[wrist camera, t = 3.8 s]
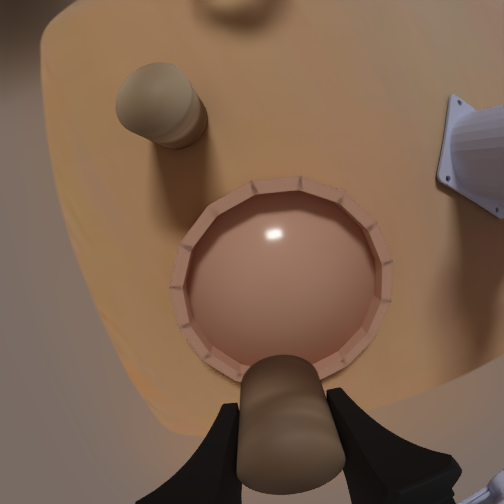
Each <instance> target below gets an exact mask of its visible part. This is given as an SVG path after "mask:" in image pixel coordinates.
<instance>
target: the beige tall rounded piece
mask: <svg viewBox="0 0 504 504" xmlns="http://www.w3.org/2000/svg"><path fill="white" fill-rule="evenodd" d="M116 113H117V117H118V119H119V121H120V122H121V124H122V125H123V126H124V127H125V128H126V129H128V130H129V131H131V132H133V133H135V134H138V135H140V136H142V137H144V138H146V139H149V140H151V141H153V142H155V143H157V144H159V145H161V146H163V147H166V148H169V149H182V148H186V147H188V146H190V145H192V144H194V143H195V142H196V141H197V140H198V139H199V138H200V137H201V136H202V134H203V133H204V131H205V129H206V126H207V121H208V116H207V111H206V108H205V106H204V104H203V103H202V101H201V100H200V98H199V96H198V95H197V93H196V91H195V90H194V88H193V87H192V85H191V83H190V82H189V80H188V78H187V77H186V75H185V74H184V73H183V71H181V70H180V69H179V68H178V67H176V66H174V65H172V64H168V63H152V64H148V65H146V66H143V67H141V68H139V69H138V70H136V71H135V72H133V73H132V74H131V75H130V76H129V77H128V78H127V79H126V80H125V81H124V83H123V84H122V86H121V88H120V90H119V92H118V95H117V99H116Z"/></svg>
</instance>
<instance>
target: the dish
mask: <svg viewBox="0 0 504 504" xmlns="http://www.w3.org/2000/svg"><path fill="white" fill-rule="evenodd" d="M392 262H393V261H392V258H391V256H390V253H389V251H388V248H387V245H386V243H385V240H384V238H383V235H382V233H381V230H380V228H379V225H378V223H377V221H375V220H374V219H373V218H372V217H371V216H370V215H369V214H368V213H367V212H366V211H365V210H364V209H363V208H362V207H361V206H360V205H359V204H358V203H357V202H356V201H355V200H354V199H353V198H352V197H351V196H349V195H348V194H347V193H346V192H345V191H342V190H339V189H336V188H334V187H331V186H328V185H325V184H322V183H319V182H316V181H313V180H310V179H307V178H304V177H302V176H299V177H288V178H277V179H267V180H257V181H251V182H249V183H247V184H245V185H244V186H242V187H240V188H238V189H236V190H234V191H233V192H231V193H229V194H227V195H226V196H224V197H222V198H220V199H219V200H217V201H215V202H213V203H212V204H209V205H208V206H207V208H206V209H205V210H204V212H203V213H202V214H201V215H200V217H199V218H198V219H197V221H196V222H195V223H194V225H193V226H192V227H191V229H190V230H189V232H188V233H187V234H186V236H185V237H184V238H183V240H182V241H181V242H180V244H179V248H178V253H177V257H176V262H175V266H174V271H173V276H172V280H171V285H170V289H171V294H172V299H173V304H174V308H175V313H176V317H177V322H178V326H179V329H180V330H181V332H182V333H183V334H184V336H185V337H186V339H187V340H188V341H189V343H190V344H191V346H192V347H193V348H194V350H195V351H196V352H197V354H198V355H199V356H200V358H201V359H202V360H203V361H204V362H206V363H207V364H209V365H210V366H212V367H214V368H215V369H217V370H218V371H220V372H222V373H223V374H225V375H226V376H228V377H230V378H231V379H233V380H235V381H238V382H241V381H242V378H243V376H244V374H245V372H246V371H247V370H248V369H249V368H250V367H251V366H252V365H253V364H255V363H256V362H258V361H260V360H262V359H264V358H267V357H270V356H274V355H293V356H298V357H300V358H303V359H305V360H307V361H308V362H310V363H311V364H312V365H313V366H314V367H315V369H316V370H317V372H318V375H319V378H320V380H321V379H323V378H325V377H327V376H329V375H331V374H333V373H335V372H337V371H339V370H341V369H343V368H344V367H346V366H348V365H349V364H350V363H351V362H352V361H353V360H354V359H355V358H356V357H357V356H358V355H359V354H360V353H361V352H362V351H363V350H364V349H365V348H366V347H367V346H368V345H369V343H370V342H371V341H372V340H373V339H374V338H375V336H376V334H377V332H378V330H379V328H380V326H381V323H382V321H383V319H384V317H385V314H386V312H387V310H388V307H389V305H390V303H391V292H392Z"/></svg>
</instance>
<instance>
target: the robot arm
mask: <svg viewBox="0 0 504 504" xmlns="http://www.w3.org/2000/svg"><path fill="white" fill-rule="evenodd" d="M457 101H458V102H457ZM458 103H459V104H458ZM446 176H447V178H448V180H447V181H446ZM437 179H438V181H439V182H440V183H442V184H444V185H446V186H448V187H449V188H451V189H453V190H455V191H456V192H458V193H460V194H461V195H463V196H465V197H466V198H468V199H470V200H471V201H473V202H475V203H476V204H478V205H479V206H481V207H482V208H484V209H485V210H487V211H489V212H490V213H492V214H493V215H494V216H496V217H497V218H499V219H503V218H504V105H500V106H495V107H491V108H487V109H483V110H479V111H476V110H475V109H474V108H472V107H471V106H470V105H468V104H467V103H466V102H464V101H463V100H462V99H460V98H459V97H457V96H456V95H454V94H453V95H450V96H449V102H448V111H447V119H446V126H445V133H444V139H443V145H442V150H441V156H440V161H439V166H438V171H437ZM327 402H328V405H329V408H330V411H331V414H332V417H333V420H334V423H335V426H336V429H337V432H338V436H339V439H340V442H341V445H342V448H343V451H344V454H345V458H346V461H345V465H344V467H343V471H344V474H345V477H346V481H347V485H348V489H349V493H350V498H351V502H352V504H456V503H455V501H454V499H453V496H454V492H453V490H452V487H453V486H454V485H455V483H456V482H457V480H458V479H459V477H460V476H461V473H462V469H461V468H460V466H459V464H458V463H457V462H456V460H455V459H454V458H453V457H452V456H451V455H448V454H444V453H440V452H436V451H432V450H429V449H426V448H423V447H420V446H418V445H416V444H413V443H411V442H409V441H407V440H404V439H403V438H401V437H399V436H397V435H395V434H394V433H392V432H390V431H389V430H387V429H386V428H384V427H383V426H381V425H380V424H379V423H377V422H376V421H375V420H374V419H372V418H371V417H370V416H369V415H368V414H366V413H365V412H364V411H363V410H362V409H361V408H360V407H359V406H358V405H357V404H356V403H355V402H354V401H353V400H352V399H351V398H350V397H349V396H348V395H347V394H346V393H345V392H344V391H343V389H341V388H340V387H339V388H334V389H329V390H327ZM238 431H239V408H238V404H237V403H228V404H223V405H222V407H221V409H220V411H219V413H218V416H217V418H216V420H215V422H214V423H213V425H212V427H211V429H210V430H209V432H208V434H207V436H206V437H205V439H204V440H203V442H202V443H201V445H200V446H199V447H198V449H197V450H196V452H195V453H194V454H193V455H192V457H191V458H190V459H189V460H188V461H187V462H186V464H185V465H184V466H183V467H182V468H181V469H180V470H179V471H178V472H177V473H176V474H175V475H174V476H172V477H171V478H170V479H169V480H168V481H166V482H165V483H164V484H163V485H161V486H160V487H159V488H157V489H156V490H155V491H153V492H151V493H150V494H148V495H146V496H145V497H143V498H142V499H140V500H138V501H136V503H135V504H242V501H241V490H242V483H241V482H240V480H239V479H238V477H237V451H238ZM457 504H504V469H503V470H502V471H500V472H499V473H498V474H496V475H495V476H494V477H493V478H492V479H491V480H490V482H489V483H488V485H487V486H485V487H484V488H483V489H481V490H479V491H478V492H476V493H475V494H473V495H471V496H470V497H468V498H466V499H464V500H463V501H461V502H459V503H457Z"/></svg>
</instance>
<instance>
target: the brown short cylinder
mask: <svg viewBox="0 0 504 504" xmlns="http://www.w3.org/2000/svg"><path fill="white" fill-rule="evenodd" d="M345 461H346V458H345V454H344V451H343V448H342V445H341V442H340V439H339V436H338V432H337V429H336V426H335V423H334V420H333V417H332V414H331V411H330V408H329V405H328V402H327V399H326V396H325V393H324V390H323V387H322V384H321V381H320V378H319V375H318V372H317V370H316V369H315V367H314V366H313V365H312V364H311V363H310V362H308V361H307V360H305V359H303V358H300V357H298V356H293V355H274V356H270V357H267V358H264V359H262V360H260V361H258V362H256V363H255V364H253V365H252V366H251V367H250V368H249V369H248V370H247V371H246V372H245V374H244V376H243V378H242V381H241V391H240V411H239V431H238V451H237V477H238V479H239V480H240V482H241V483H242V484H244V485H245V486H246V487H248V488H250V489H252V490H255V491H258V492H261V493H266V494H274V495H287V494H296V493H302V492H305V491H309V490H312V489H315V488H318V487H320V486H322V485H324V484H326V483H327V482H329V481H331V480H332V479H333V478H335V477H336V476H337V475H338V474H339V473H340V472H341V471H342V469H343V467H344V465H345Z"/></svg>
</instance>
